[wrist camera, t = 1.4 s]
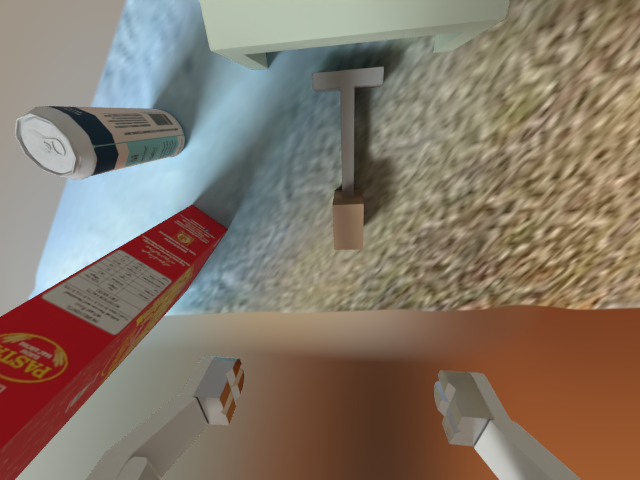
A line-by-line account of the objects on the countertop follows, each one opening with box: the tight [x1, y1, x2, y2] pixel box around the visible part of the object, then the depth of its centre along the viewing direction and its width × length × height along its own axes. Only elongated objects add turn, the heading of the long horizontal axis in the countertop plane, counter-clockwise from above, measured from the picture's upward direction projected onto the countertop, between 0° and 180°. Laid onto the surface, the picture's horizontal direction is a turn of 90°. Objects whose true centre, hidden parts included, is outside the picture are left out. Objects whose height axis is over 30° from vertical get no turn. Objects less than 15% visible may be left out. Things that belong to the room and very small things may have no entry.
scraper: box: [312, 67, 384, 249], centre depth 24 cm, size 6×16×5 cm, turn 4°
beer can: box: [15, 106, 185, 179], centre depth 21 cm, size 5×5×12 cm
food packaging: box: [0, 205, 228, 480], centre depth 23 cm, size 15×5×25 cm, turn 141°
